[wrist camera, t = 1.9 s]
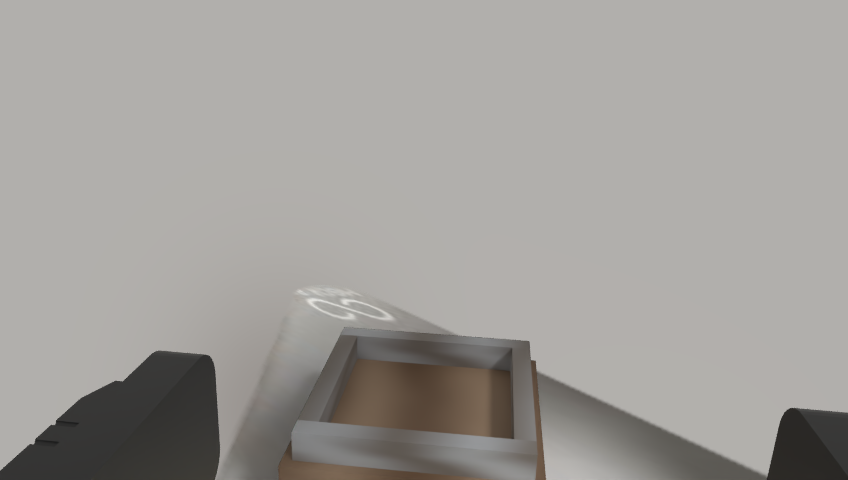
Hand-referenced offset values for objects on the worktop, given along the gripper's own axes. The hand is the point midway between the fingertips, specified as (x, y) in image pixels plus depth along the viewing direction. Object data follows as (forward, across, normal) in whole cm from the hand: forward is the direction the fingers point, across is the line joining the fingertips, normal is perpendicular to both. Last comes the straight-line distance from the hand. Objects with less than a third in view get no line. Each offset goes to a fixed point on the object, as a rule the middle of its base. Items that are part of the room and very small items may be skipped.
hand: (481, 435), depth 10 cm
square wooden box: (+23, +3, +18) cm, 30 cm away
